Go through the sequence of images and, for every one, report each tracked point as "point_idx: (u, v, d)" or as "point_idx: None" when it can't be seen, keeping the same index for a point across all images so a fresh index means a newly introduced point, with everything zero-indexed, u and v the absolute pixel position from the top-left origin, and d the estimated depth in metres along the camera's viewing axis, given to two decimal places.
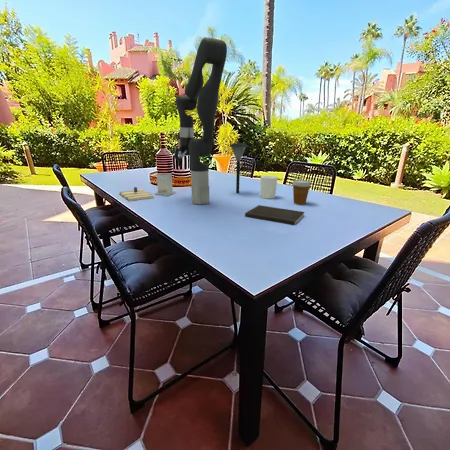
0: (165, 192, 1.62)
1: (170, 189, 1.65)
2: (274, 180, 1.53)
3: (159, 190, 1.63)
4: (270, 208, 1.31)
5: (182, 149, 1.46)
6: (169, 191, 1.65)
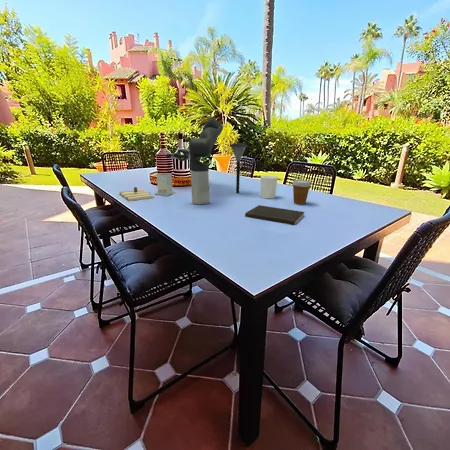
0: (165, 192, 1.62)
1: (170, 189, 1.65)
2: (274, 180, 1.53)
3: (159, 190, 1.63)
4: (270, 208, 1.31)
5: None
6: (169, 191, 1.65)
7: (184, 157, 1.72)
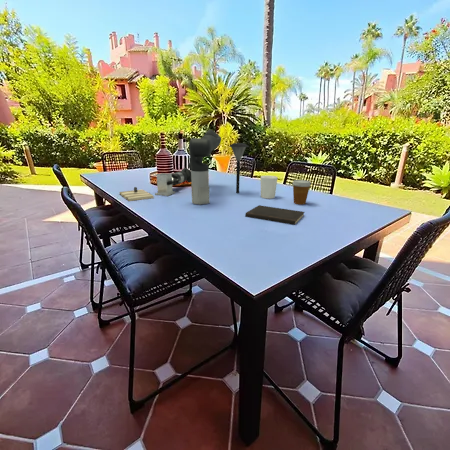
0: (165, 192, 1.62)
1: (170, 189, 1.65)
2: (274, 180, 1.53)
3: (159, 190, 1.63)
4: (270, 208, 1.31)
5: None
6: (169, 191, 1.65)
7: (174, 183, 1.64)
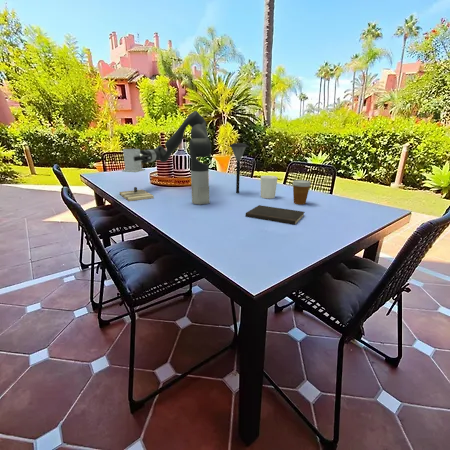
0: (133, 168, 1.51)
1: (139, 166, 1.54)
2: (274, 180, 1.53)
3: (126, 166, 1.52)
4: (270, 208, 1.31)
5: None
6: (137, 168, 1.53)
7: (142, 159, 1.53)
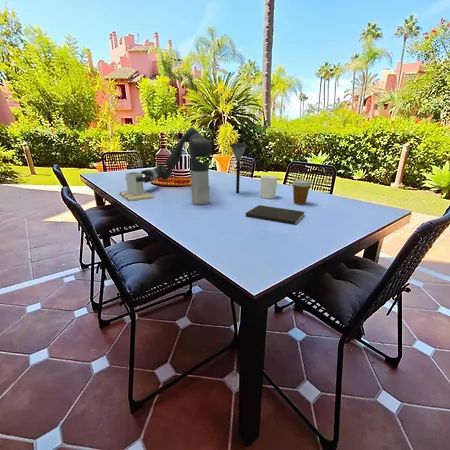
0: (135, 192, 1.55)
1: (141, 189, 1.58)
2: (274, 180, 1.53)
3: (129, 190, 1.56)
4: (270, 208, 1.31)
5: None
6: (139, 191, 1.58)
7: (145, 180, 1.57)
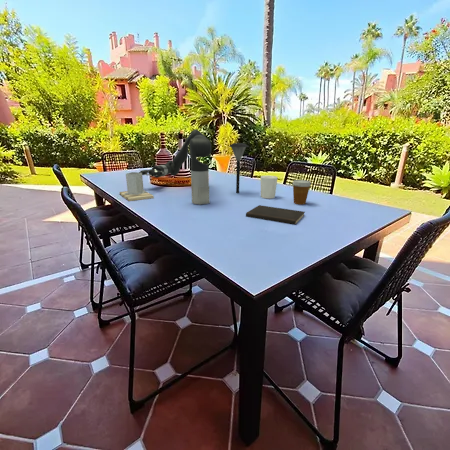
0: (135, 192, 1.55)
1: (141, 189, 1.58)
2: (274, 180, 1.53)
3: (129, 190, 1.56)
4: (270, 208, 1.31)
5: (149, 170, 1.75)
6: (139, 191, 1.58)
7: (158, 174, 1.68)
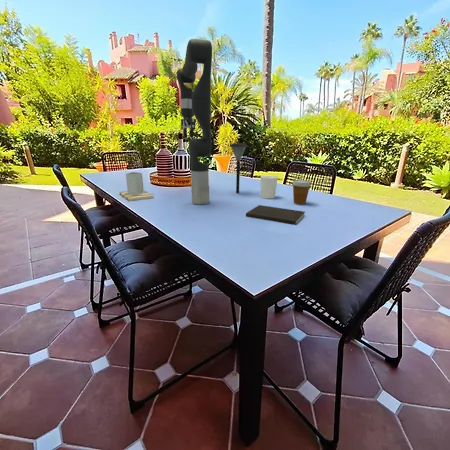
0: (135, 192, 1.55)
1: (141, 189, 1.58)
2: (274, 180, 1.53)
3: (129, 190, 1.56)
4: (270, 208, 1.31)
5: (183, 120, 1.61)
6: (139, 191, 1.58)
7: (193, 129, 1.57)
